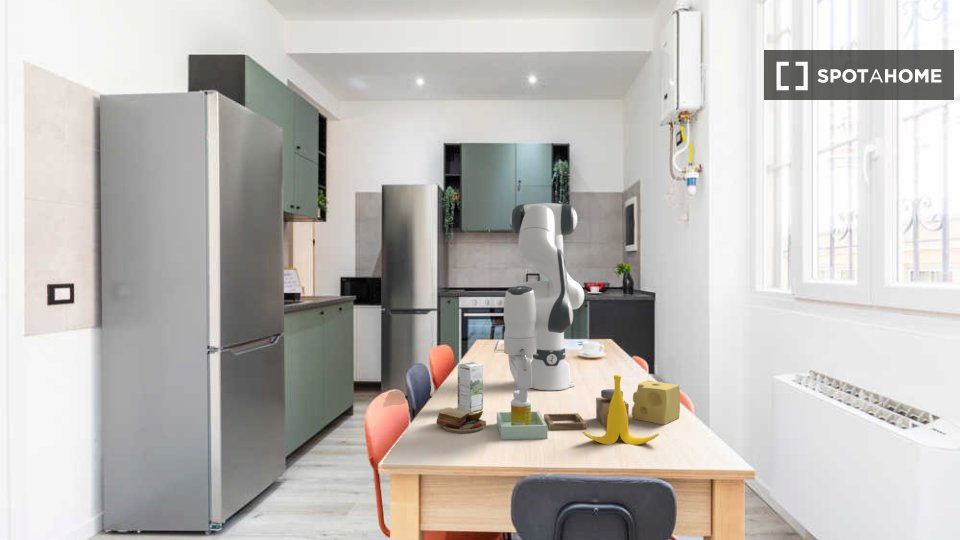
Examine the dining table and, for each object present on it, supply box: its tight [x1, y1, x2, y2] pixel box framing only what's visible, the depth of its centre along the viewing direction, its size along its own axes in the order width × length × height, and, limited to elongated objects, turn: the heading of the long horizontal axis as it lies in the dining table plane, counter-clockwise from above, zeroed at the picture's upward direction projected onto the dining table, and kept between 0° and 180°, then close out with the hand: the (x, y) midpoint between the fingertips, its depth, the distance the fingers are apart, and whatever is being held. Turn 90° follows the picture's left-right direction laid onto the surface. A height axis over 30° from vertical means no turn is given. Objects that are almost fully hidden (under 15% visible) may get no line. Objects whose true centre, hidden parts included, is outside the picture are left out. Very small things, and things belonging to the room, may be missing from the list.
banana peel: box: [581, 374, 661, 446], centre depth 138 cm, size 17×19×17 cm
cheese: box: [631, 380, 681, 426], centre depth 158 cm, size 10×11×10 cm
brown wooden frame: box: [543, 412, 588, 431], centre depth 153 cm, size 10×10×2 cm
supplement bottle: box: [510, 390, 532, 426], centre depth 147 cm, size 5×5×10 cm
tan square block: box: [595, 388, 630, 427], centre depth 155 cm, size 8×7×9 cm
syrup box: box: [457, 361, 484, 413], centre depth 168 cm, size 6×6×14 cm
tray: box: [496, 410, 548, 441], centre depth 147 cm, size 14×12×3 cm
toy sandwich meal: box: [436, 407, 487, 434], centre depth 151 cm, size 12×14×5 cm
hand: (520, 397), depth 147 cm, fingers open, 8 cm apart
